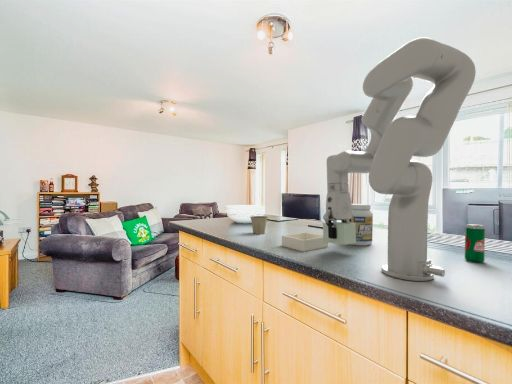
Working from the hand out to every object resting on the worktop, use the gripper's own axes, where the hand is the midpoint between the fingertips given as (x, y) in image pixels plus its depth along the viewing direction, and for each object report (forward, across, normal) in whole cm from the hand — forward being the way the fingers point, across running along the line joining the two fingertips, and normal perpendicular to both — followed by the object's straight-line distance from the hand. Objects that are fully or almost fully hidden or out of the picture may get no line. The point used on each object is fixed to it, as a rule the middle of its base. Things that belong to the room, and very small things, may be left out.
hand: (339, 237), depth 97 cm
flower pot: (+3, +1, +51) cm, 51 cm away
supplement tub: (+6, +21, +7) cm, 23 cm away
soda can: (+8, +27, -32) cm, 43 cm away
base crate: (+5, -2, +16) cm, 17 cm away
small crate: (+2, 0, 0) cm, 2 cm away
